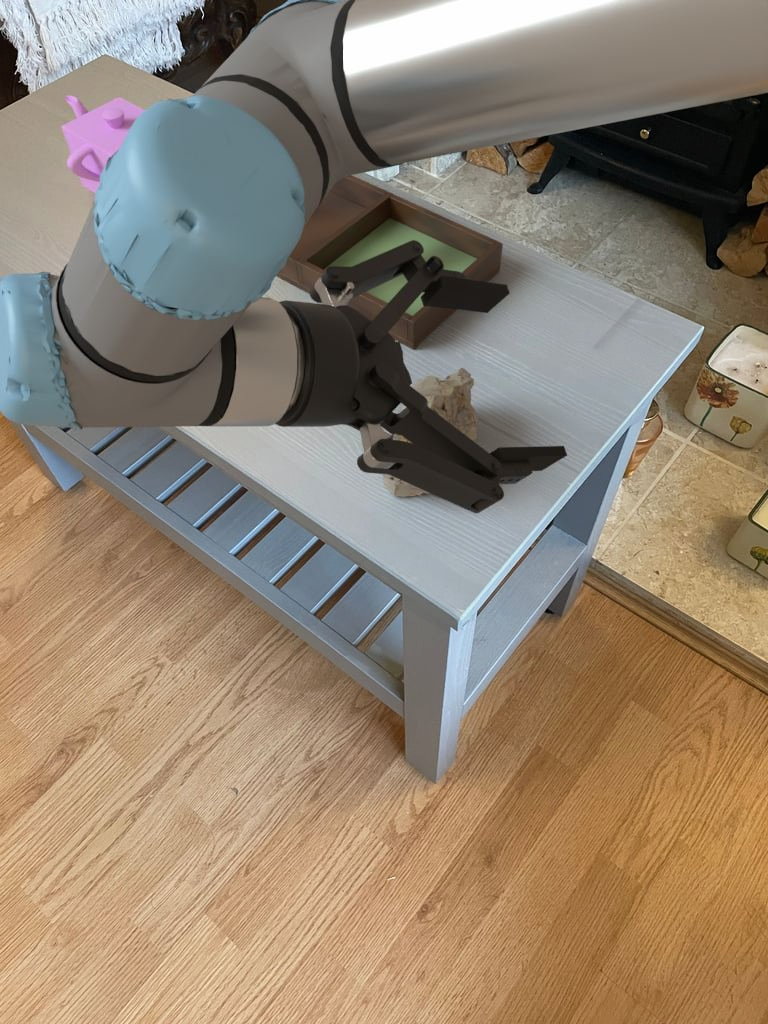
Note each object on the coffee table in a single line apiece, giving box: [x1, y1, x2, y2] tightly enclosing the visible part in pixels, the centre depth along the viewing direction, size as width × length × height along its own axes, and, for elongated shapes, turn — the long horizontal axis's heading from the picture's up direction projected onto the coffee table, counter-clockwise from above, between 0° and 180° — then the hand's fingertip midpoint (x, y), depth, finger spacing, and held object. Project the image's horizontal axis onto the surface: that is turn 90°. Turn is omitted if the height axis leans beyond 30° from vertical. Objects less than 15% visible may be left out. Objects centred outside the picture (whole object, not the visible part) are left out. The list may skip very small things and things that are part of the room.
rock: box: [383, 367, 480, 498], centre depth 75 cm, size 12×7×10 cm, turn 146°
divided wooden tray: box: [276, 175, 504, 350], centre depth 95 cm, size 32×17×4 cm, turn 51°
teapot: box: [61, 95, 146, 194], centre depth 100 cm, size 15×13×11 cm
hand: (524, 376), depth 61 cm, fingers open, 13 cm apart
